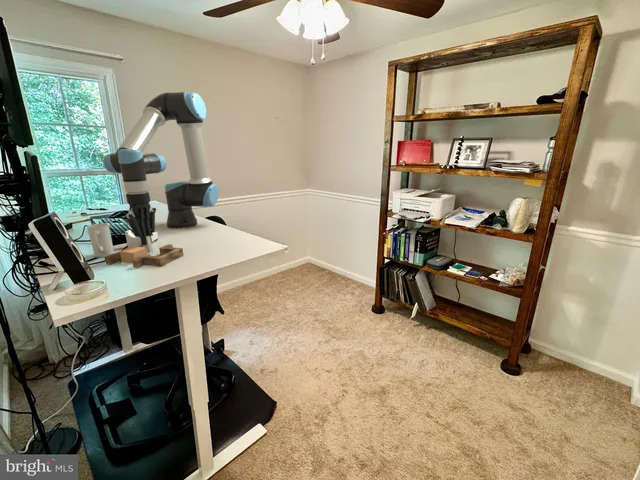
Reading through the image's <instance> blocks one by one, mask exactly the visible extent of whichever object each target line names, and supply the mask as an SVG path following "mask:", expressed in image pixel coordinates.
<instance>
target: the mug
mask: <svg viewBox="0 0 640 480" xmlns="http://www.w3.org/2000/svg"><path fill="white" fill-rule="evenodd" d="M86 227H87V232H88V236H89V239H90V242H91V243H90V244H91V246H92V251H93V253H94V257H95V258H104V257H105V256H108V255H111V254H113V253H115V251H114V246H113V239H112V235H111V229H110V224H109V223H105V222H103V223H102V222H101V223H95V224H90V225H87V226H86Z"/></svg>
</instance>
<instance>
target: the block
mask: <svg viewBox="0 0 640 480" xmlns="http://www.w3.org/2000/svg"><path fill="white" fill-rule="evenodd" d="M124 249H125V250H124ZM124 249H121V250H122V251H121V250H119V251H120V255H121V260H122V261H121V263H122V264H132V259H135V258H137V257H139V256H142V255H148V253H147V249H146V247H135V246H133V247H130V248H128V247H127V248H124ZM132 265H133V264H132Z"/></svg>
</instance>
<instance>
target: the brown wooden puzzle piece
mask: <svg viewBox="0 0 640 480" xmlns="http://www.w3.org/2000/svg"><path fill="white" fill-rule="evenodd" d="M173 246H174V245H173V244H171V243H170V244H169V243H168V244H166V245H163V246H161V247H158V250H159V256H158V255H157V256H155V255H148V254H147V255H142V256H139V257H137V258H135V259H132V267H133V268H134V269H140V268H141V267H144V266H149V267H159V268H163V267H164V266H166V265H168V264H169V263H171V262H173V261H176V260H178V259H179V258H181V257H184V251H183V250H184V249H183V248H182V247H173ZM132 247H133V246H132ZM135 247H143V245H142V244H141V243H140V244H137V245H135ZM129 248H130V247H129ZM125 249H126V248H124V249H121V250H119V251H117V252H116V251H115V252H114V253H113V254H111V255H108V256H105V257H103V259H104V261H105V265H106V266H112V265H115V264H116V263H119V262H122V260H121V255H120V251H122V250H125Z"/></svg>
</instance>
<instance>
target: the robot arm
mask: <svg viewBox="0 0 640 480" xmlns="http://www.w3.org/2000/svg"><path fill="white" fill-rule="evenodd" d="M206 117H207V108H206V104H205V102H204V100H203V98H202V97H201V95H200V94H199V93H196V92H192V91H185V92H184V91H183V92H182V91H181V92H163V93H160V94H159V95H156V96H155V97H154V98H152V99H151V100H150V101H149V102H148V103H147V104H146V106H145V107H144V108H143V109H142V115H141V117H140V118H139V120H138V121H137V122H136V124H135V125H134V126H133V128H132V129H131V131H129V134H128V135H126V138H125V139H124V140H123V141H122V143H121V144H120V146H119V147H118V149H117V150H116V151H115V152H114V153H113V152H112V153H111V152H110V153H108V154H105V155H104V157H103V159H102V160H103V161H102V163H103V167H104V168H105V170H106V171H107V172H109V173H112V174H121V176H122V182H123V187H124V191H125V193H126V195H125V198H126V202H127V205H129V208H128V209H129V211H128V213H125V214H124V215H123V216H124V217H125V219H126V220H127V221H128V223H129V225H130V229H131V232H132V234H134V235H135V237H140V239H141V244H142V245H143V247H146V249H147V254H151V253H153V252H154V250H153V246H152V243H153V242H152V239H151V236H153V234H152V233H154V232H156V228H155V227H156V221H155V220H156V212H157V207H152V206H151V204H150V202H151V196H150V192H149V185H148V180H147V175H151V174H161V173H163V172H164V171H165V170H166V169H167V160H166V158H165V157H164V156H163V155H162V154H160V153H153V152H152V153H143V152H144V150H145V149H146V147H148V144H149V143H150V141H151V140H152V139H153V137H154V136H155V134H156V133H157V131H158V130H159V128H160V127H161V126H164V125H165V124H166V122H168V121H176V125H178V127H179V128H180V129H181V135H182V140H183V144H184V151H185V155H186V160H187V162H186V163H187V167H188V172H189V176H190V179H189V180H183V181H175V182H170V183H165V185H164V190H165V191H164V193H165V198H166V203H167V212H168V214H167V219H166V227H167V228H168V229H186V228H187V229H188V228H190V227H196V226H197V225H198V219H197V218H196V215H195V213H194V210H193V207H198V208H199V207H200V208H201V207H202V208H210V207H214V206H215V205H216V204H217V203H218V199H219V196H220V195H219V194H220V193H219V192H220V191H219V188H218V185H217V184H215V183H213V179H212V178H211V177H210V176H209V172H208V165H207V159H206V153H205V147H204V143H203V134H202V129H201V127H202V125H204V121H203V120H205V119H206Z"/></svg>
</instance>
